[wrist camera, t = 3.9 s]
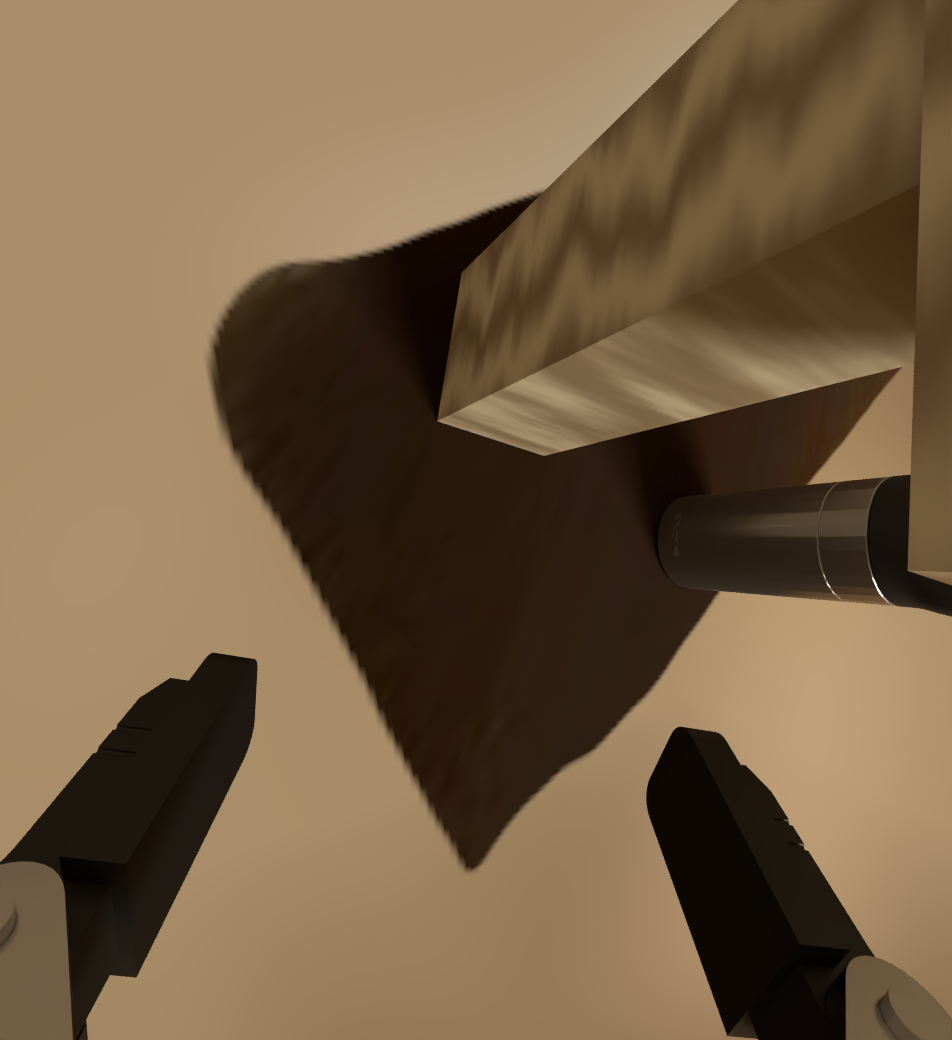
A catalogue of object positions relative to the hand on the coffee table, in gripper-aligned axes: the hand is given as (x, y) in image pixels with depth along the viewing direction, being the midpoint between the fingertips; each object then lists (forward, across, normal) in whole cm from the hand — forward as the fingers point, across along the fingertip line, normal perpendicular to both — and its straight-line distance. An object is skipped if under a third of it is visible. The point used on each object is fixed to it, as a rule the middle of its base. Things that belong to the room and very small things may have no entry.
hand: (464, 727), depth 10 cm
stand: (+32, -3, +1) cm, 32 cm away
